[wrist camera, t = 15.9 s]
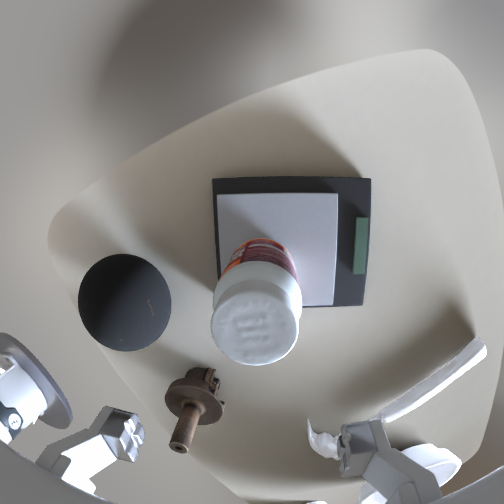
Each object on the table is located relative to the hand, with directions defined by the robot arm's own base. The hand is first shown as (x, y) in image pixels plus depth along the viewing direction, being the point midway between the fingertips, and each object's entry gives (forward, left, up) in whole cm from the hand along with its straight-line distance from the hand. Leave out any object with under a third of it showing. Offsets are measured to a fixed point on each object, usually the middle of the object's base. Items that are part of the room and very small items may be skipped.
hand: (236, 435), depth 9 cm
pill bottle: (0, +1, -19) cm, 19 cm away
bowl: (+29, -44, -21) cm, 57 cm away
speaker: (-14, -2, -21) cm, 25 cm away
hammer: (+20, -20, -21) cm, 36 cm away
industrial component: (-9, -16, -21) cm, 28 cm away
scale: (+3, +3, -21) cm, 21 cm away
